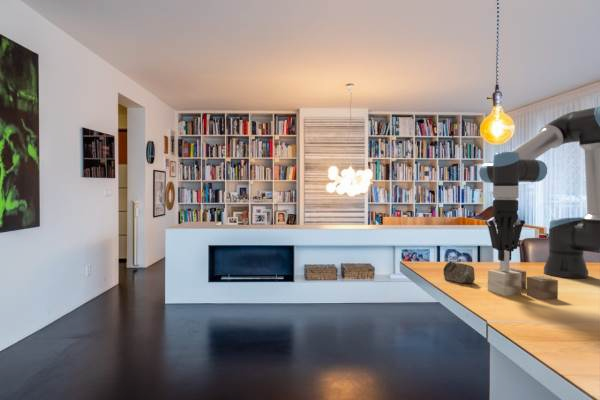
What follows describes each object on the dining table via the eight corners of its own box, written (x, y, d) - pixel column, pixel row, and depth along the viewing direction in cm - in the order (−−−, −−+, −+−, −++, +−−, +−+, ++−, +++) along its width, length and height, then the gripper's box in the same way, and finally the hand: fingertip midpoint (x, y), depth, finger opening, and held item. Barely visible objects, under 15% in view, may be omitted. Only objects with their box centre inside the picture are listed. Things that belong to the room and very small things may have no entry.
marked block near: (514, 284, 144) (514, 267, 144) (526, 288, 138) (526, 270, 138) (498, 285, 143) (499, 268, 143) (510, 289, 137) (510, 271, 137)
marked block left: (543, 294, 130) (543, 275, 130) (557, 299, 124) (557, 279, 124) (526, 295, 130) (526, 276, 129) (540, 300, 124) (540, 280, 123)
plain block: (504, 289, 137) (504, 269, 137) (521, 294, 131) (521, 273, 130) (487, 291, 135) (487, 270, 135) (504, 296, 128) (504, 274, 128)
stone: (467, 284, 143) (468, 265, 143) (439, 279, 153) (440, 260, 153) (479, 283, 147) (480, 264, 147) (451, 277, 157) (451, 259, 157)
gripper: (515, 199, 137) (514, 268, 137) (480, 198, 135) (479, 268, 135) (531, 199, 130) (530, 272, 130) (494, 199, 128) (493, 273, 128)
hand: (504, 270), depth 133 cm, fingers closed
